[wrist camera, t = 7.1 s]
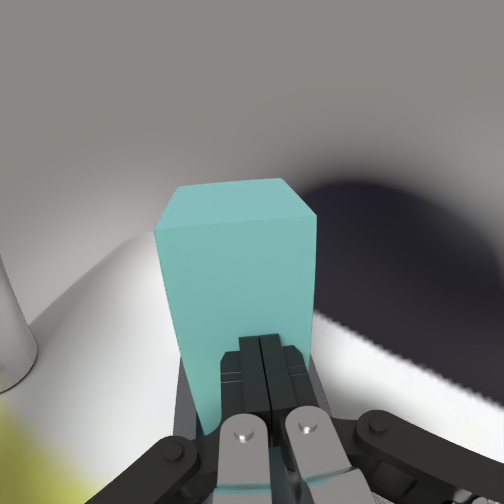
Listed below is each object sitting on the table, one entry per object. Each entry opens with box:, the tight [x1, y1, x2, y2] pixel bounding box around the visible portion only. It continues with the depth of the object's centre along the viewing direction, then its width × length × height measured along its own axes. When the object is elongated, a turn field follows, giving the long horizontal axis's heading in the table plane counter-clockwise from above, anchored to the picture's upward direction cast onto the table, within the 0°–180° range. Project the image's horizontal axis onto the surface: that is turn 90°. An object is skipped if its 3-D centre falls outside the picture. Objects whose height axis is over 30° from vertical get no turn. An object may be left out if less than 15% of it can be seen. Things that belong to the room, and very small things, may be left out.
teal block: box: [154, 178, 317, 435], centre depth 15 cm, size 6×5×12 cm
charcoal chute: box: [173, 354, 332, 504], centre depth 13 cm, size 23×9×3 cm, turn 5°
